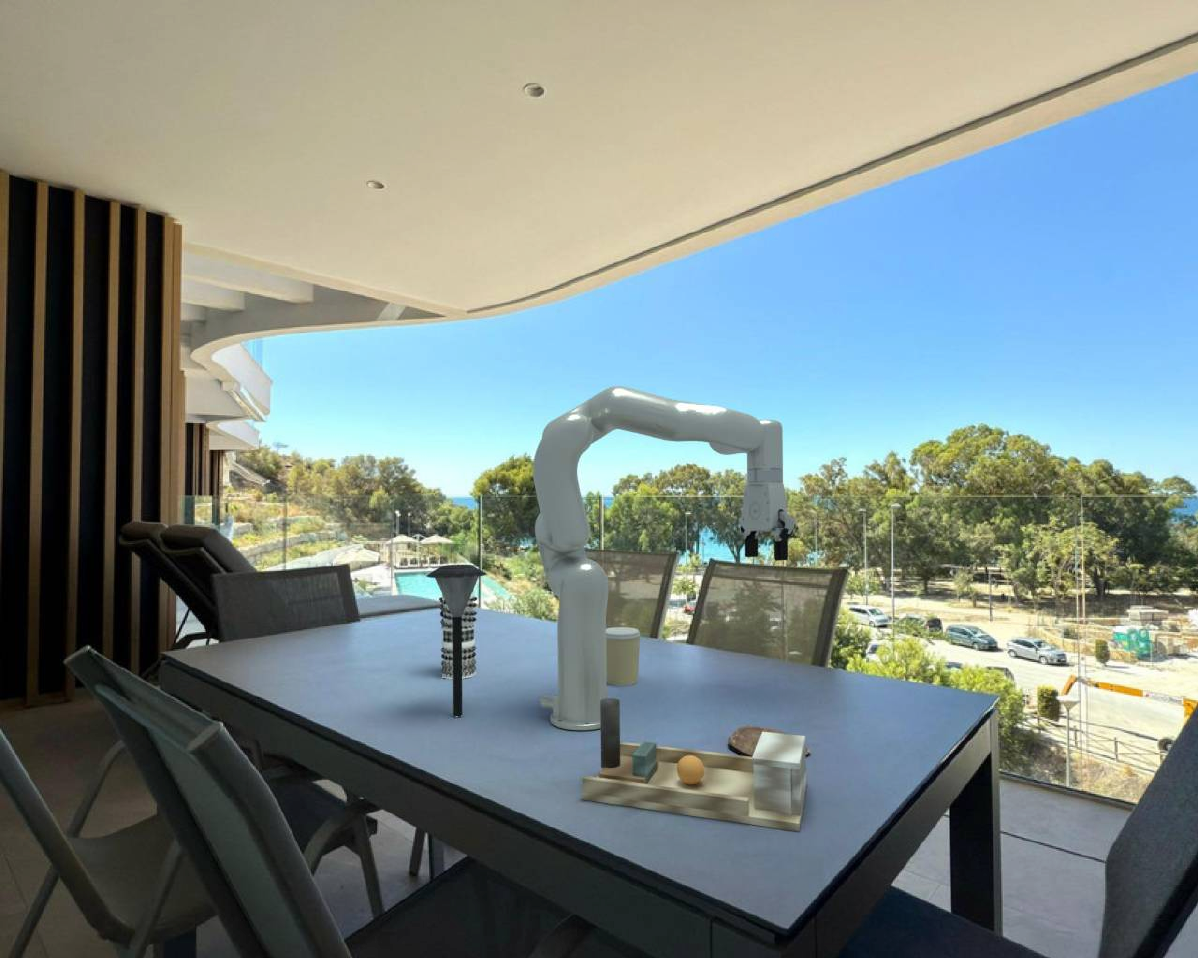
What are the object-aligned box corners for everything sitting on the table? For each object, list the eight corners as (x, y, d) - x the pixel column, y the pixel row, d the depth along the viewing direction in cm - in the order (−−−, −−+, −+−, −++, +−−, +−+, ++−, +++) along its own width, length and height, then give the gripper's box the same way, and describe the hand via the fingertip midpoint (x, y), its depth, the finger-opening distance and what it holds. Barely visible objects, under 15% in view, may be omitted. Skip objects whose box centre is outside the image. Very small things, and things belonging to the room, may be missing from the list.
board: (582, 799, 99) (582, 744, 100) (618, 759, 114) (617, 712, 115) (799, 831, 89) (798, 770, 89) (807, 783, 104) (806, 730, 104)
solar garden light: (501, 714, 139) (499, 565, 140) (450, 730, 130) (449, 570, 131) (463, 703, 148) (462, 562, 148) (413, 717, 138) (413, 566, 139)
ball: (674, 786, 101) (673, 759, 101) (680, 776, 105) (680, 749, 105) (701, 790, 100) (700, 762, 100) (706, 779, 103) (706, 752, 103)
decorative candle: (470, 681, 166) (469, 576, 166) (433, 680, 167) (433, 576, 168) (482, 671, 175) (482, 572, 176) (447, 670, 176) (447, 572, 177)
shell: (757, 769, 111) (757, 746, 111) (715, 743, 123) (715, 723, 123) (815, 758, 115) (815, 736, 115) (769, 734, 127) (768, 714, 127)
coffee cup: (641, 676, 168) (641, 626, 168) (640, 687, 159) (639, 634, 159) (603, 676, 169) (603, 626, 169) (599, 686, 160) (599, 634, 160)
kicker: (592, 779, 103) (591, 707, 104) (610, 760, 111) (609, 693, 111) (643, 786, 101) (642, 712, 101) (658, 766, 108) (657, 697, 108)
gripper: (726, 479, 154) (727, 556, 154) (777, 476, 139) (778, 562, 138) (753, 479, 157) (754, 555, 157) (806, 477, 142) (807, 560, 141)
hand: (765, 558), depth 147 cm, fingers open, 9 cm apart
